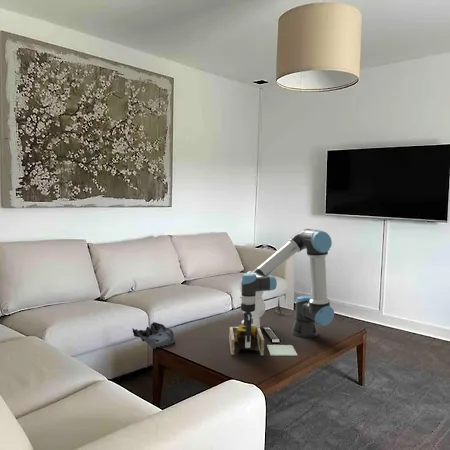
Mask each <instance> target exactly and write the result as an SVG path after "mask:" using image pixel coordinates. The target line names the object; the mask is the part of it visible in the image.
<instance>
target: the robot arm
mask: <svg viewBox="0 0 450 450" xmlns="http://www.w3.org/2000/svg"><path fill="white" fill-rule="evenodd" d="M332 244H333V241H332V237H331V236H330V234H328V232H326V231H323V230H320V229H312V228H303V229H302V230H300V231H298V232H296V233H295V234H294V235H292V236H291V237H289V238H288V239H287V242H286V243H285V244H284V245H283V246H281V248H279V249H278V250H277V251H276V252H274V253H273V254H271V256H270V257H267V259H266V260H264V261H263V263H261V264H260V265H258V267H256V268H255V269H253V270H249V271H247V272H246V273H242V276H241V279H242V282H241V283H242V292H241V291H240V292H241V296H240V297H239V298H240V302H241V304H240V310H241V311H242V312H243V311H244V313H243V320H244V325H246V334H245V348H250V345H251V324H252V319H251V318H252V315H251V313H250V312H253V311H255V300H256V291H264V292H266V291H267V292H269V291H274V290H276V288H277V285H278V283H277V279H276V277H275V276H271V274H272V273H273V272H275V271H276V270H277V269H279V268H280V267H281V266H282V265H283V264H284V263H286V261H287V260H289V259H291V257H292V256H294V255H296V253H300V252H301V251H303V250H306V256H308V257H309V271H310V274H309V275H310V291H311V292H310V293H311V294H310V295H301V296H297V297H296V300H295V320H294V323H293V326H292V327H291V334H292V335H293V336H296V337H297V338H298V337H299V338H303V339H304V338H305V339H307V338H309V339H310V338H311V339H312V338H315V337H317V336H318V329H317V325H320V326H327V325H329V324H331V322H332V321H333V320H334V319H335V318H334V317H335V310H334V309H333V307H331V304H330V303H331V302H330V301H331V300H330V299H329V298H328V297H327V296H328V295H327V273H326V272H327V268H326V267H327V265H326V257H327V256H328V253H329V251H330V249H331V248H332ZM316 324H317V325H316Z"/></svg>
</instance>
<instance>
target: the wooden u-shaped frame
mask: <svg viewBox="0 0 450 450" xmlns="http://www.w3.org/2000/svg"><path fill="white" fill-rule="evenodd" d="M238 327H239V326H229V332H228V333H229V335H228V336H229V337H228V341H229V349H230V354H231V355H233V356H235V343H236V341H237V329H238ZM257 347H258V350H259V354H260V356H264V355H265V339H264V335H263V333H262V330H261V326H260V327H257Z"/></svg>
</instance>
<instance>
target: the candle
mask: <svg viewBox="0 0 450 450" xmlns="http://www.w3.org/2000/svg"><path fill="white" fill-rule="evenodd" d="M237 327H238V329H237V341H235V346H236V347H235V348H236V349H238V350H249V351H255V350H256V348H257V346H258V344H257V326H251V345H250V348H245V334H246V325H243V324H239V325H238V326H237Z"/></svg>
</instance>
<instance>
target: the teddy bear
mask: <svg viewBox="0 0 450 450" xmlns="http://www.w3.org/2000/svg"><path fill="white" fill-rule="evenodd" d="M241 282H242V278H241V279H240V281H239V289H240V292H242V283H241ZM264 292H265V291H256V300H255V311H253V312H250V313H251V315H252V318H251V320H252V323H251V326H257V327H260V328H261V324H260V323H261V318H260V317H262V316H263V315H264V314H265V312H266V303H265V301H264V298H263V295H264ZM242 313H243V314H244V311H242ZM240 324H241V325H244V319H243V320H241V323H240Z"/></svg>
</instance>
